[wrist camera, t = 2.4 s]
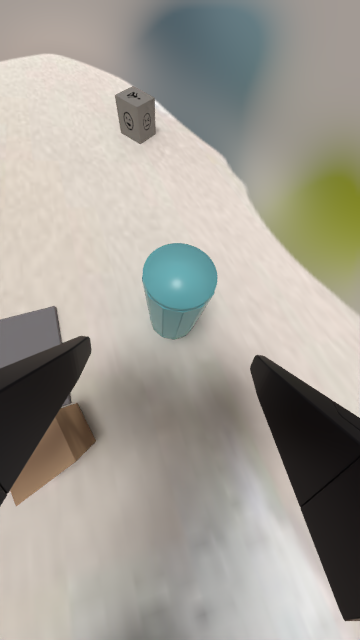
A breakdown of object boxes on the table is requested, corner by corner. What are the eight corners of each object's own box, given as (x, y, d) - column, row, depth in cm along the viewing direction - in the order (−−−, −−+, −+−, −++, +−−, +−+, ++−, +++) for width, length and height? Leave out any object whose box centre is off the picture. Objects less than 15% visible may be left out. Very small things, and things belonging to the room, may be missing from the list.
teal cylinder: (200, 330, 23) (229, 296, 13) (158, 344, 21) (155, 318, 12) (185, 293, 24) (201, 237, 14) (145, 304, 23) (133, 251, 13)
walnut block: (96, 440, 18) (75, 461, 13) (53, 472, 17) (15, 506, 12) (77, 402, 19) (52, 411, 14) (35, 430, 17) (-5, 448, 13)
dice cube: (137, 123, 36) (133, 86, 31) (155, 134, 36) (154, 97, 31) (121, 133, 35) (114, 95, 30) (140, 144, 34) (136, 107, 29)
